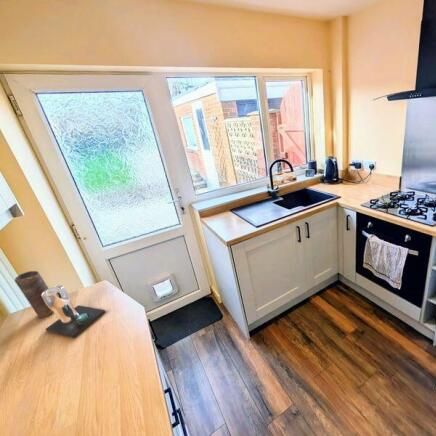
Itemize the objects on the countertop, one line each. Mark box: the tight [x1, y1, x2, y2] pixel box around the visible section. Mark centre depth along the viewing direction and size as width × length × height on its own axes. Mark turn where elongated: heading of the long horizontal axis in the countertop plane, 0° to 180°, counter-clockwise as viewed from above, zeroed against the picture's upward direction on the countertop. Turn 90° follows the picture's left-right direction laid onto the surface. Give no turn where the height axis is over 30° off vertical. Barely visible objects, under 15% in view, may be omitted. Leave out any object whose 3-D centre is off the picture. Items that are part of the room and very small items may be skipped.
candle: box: [14, 270, 54, 318], centre depth 105 cm, size 8×7×20 cm
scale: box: [44, 305, 106, 339], centre depth 101 cm, size 16×13×3 cm
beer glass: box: [41, 284, 79, 324], centre depth 99 cm, size 7×7×15 cm
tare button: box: [78, 313, 88, 322], centre depth 99 cm, size 3×3×2 cm
